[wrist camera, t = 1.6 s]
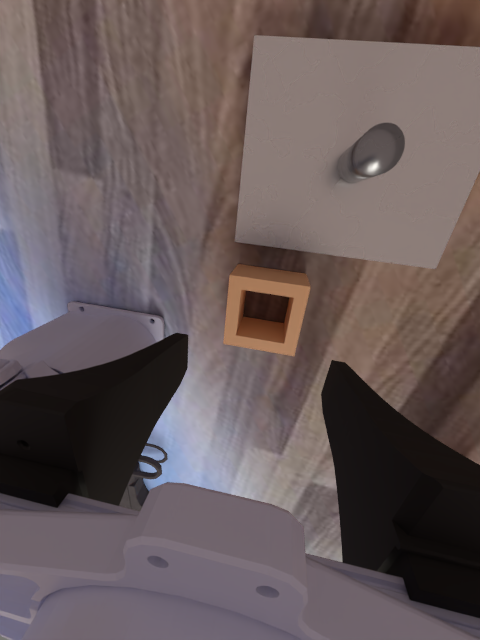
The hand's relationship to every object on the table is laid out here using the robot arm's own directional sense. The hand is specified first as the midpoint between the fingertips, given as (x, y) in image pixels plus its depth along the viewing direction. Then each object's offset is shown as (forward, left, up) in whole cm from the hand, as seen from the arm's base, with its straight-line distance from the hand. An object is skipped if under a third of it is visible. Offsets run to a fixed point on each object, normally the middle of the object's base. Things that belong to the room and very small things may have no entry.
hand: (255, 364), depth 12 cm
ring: (0, 0, -9) cm, 9 cm away
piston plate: (+4, +10, -9) cm, 14 cm away
